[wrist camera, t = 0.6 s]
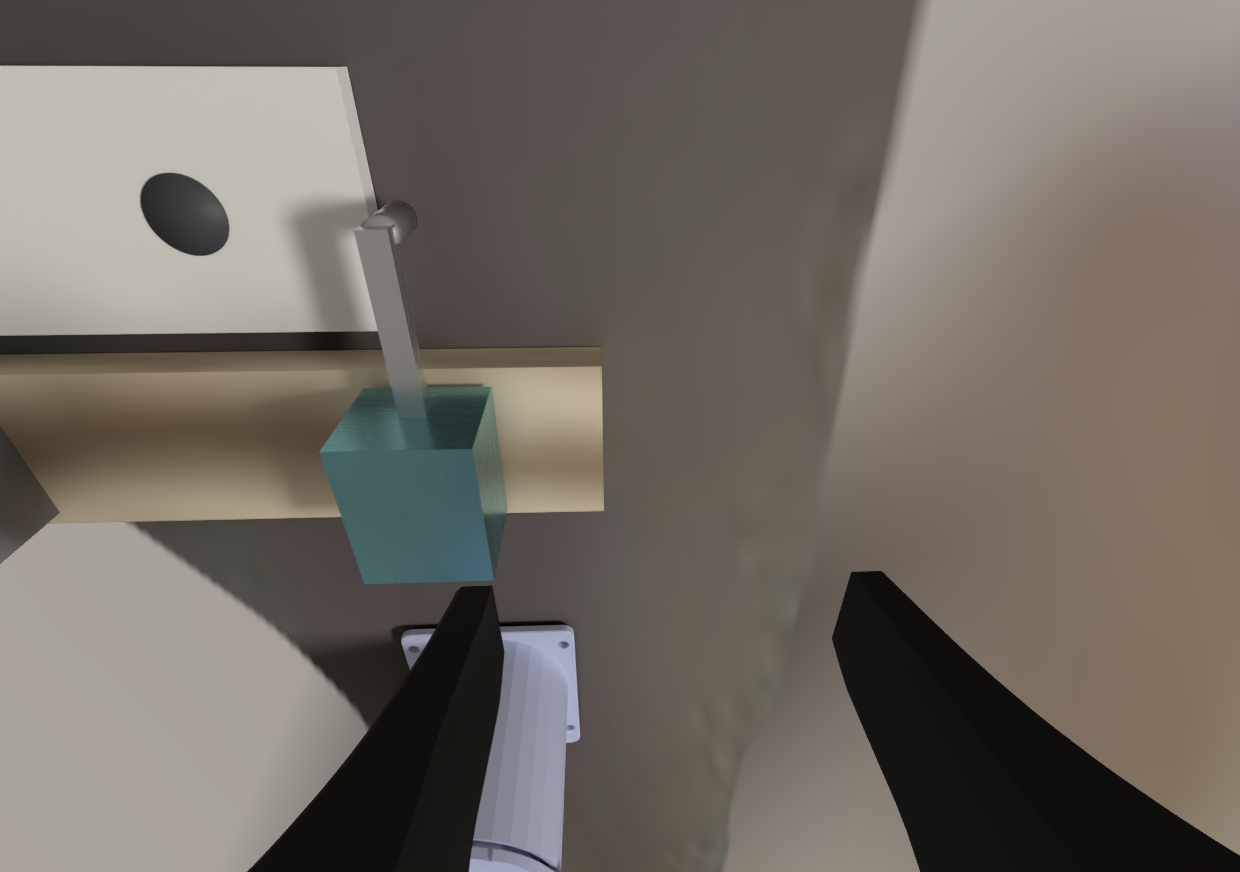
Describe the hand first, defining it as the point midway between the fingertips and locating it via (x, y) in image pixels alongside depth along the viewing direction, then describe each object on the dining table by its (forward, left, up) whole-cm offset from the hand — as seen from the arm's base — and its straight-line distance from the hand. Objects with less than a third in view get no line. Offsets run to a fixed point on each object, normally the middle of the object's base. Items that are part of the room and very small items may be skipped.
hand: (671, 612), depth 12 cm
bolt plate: (+6, +17, -10) cm, 21 cm away
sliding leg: (+1, +7, -9) cm, 11 cm away
